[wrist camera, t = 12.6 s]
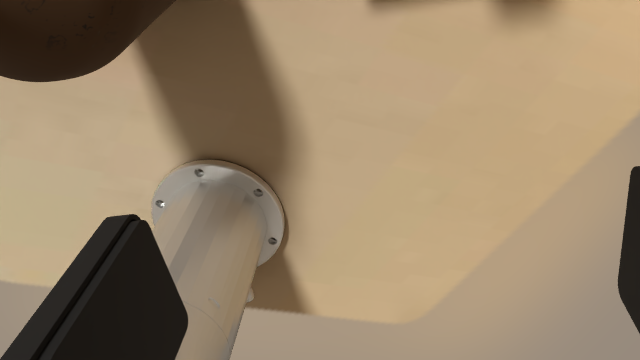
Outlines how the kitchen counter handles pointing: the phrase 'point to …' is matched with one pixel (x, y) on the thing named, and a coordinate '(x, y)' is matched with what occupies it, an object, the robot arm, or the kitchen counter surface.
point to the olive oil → (68, 35)
